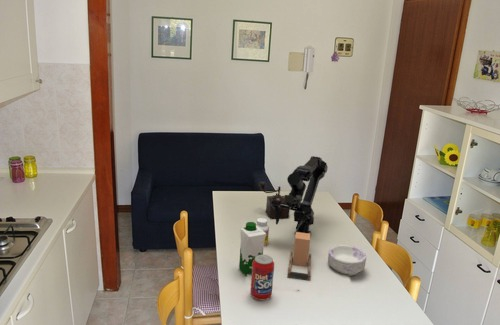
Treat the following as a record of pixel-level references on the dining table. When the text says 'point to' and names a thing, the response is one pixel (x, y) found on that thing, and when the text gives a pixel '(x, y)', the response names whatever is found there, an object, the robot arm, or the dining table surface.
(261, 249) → the milk carton
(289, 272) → the brown wooden tray
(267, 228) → the supplement bottle
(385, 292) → the dining table surface
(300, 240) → the block
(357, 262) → the paper bowls
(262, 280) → the soda can
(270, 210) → the brown manual coffee grinder
